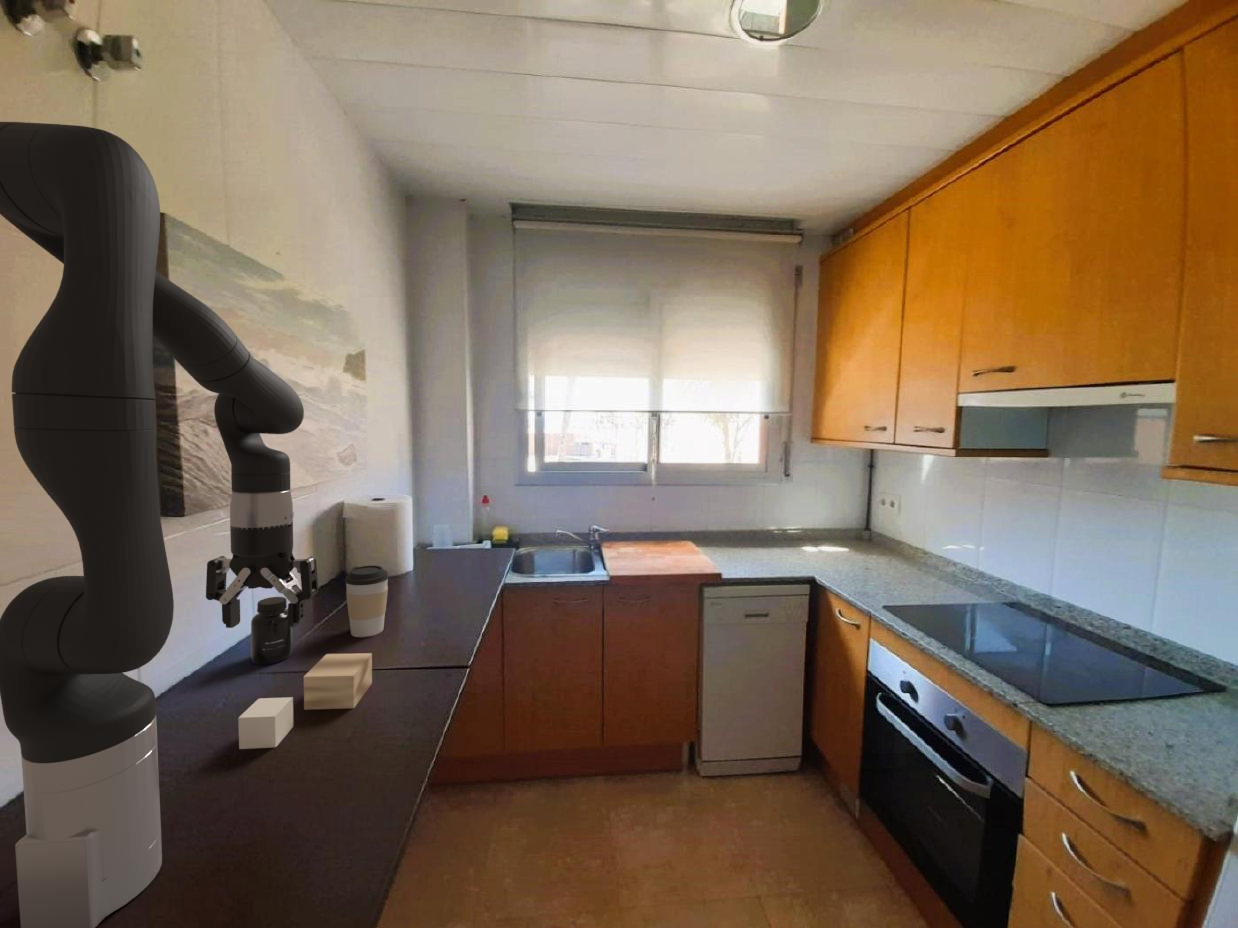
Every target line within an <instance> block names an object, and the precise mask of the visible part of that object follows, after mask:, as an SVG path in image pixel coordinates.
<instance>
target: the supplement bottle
mask: <svg viewBox="0 0 1238 928" xmlns="http://www.w3.org/2000/svg"><path fill="white" fill-rule="evenodd" d="M287 601H288V599H287V598H286V597H285V596H272V597H265V598H262V599H261V600H258V601H257V605H256V606H257V608H256V614H255V615H254V616H253V617H252V618H251V623H250V629H251V630H250V631H251V632H250V647H251V648H250V655H251V656H250V658H251V662H252V663H253V664H255V665H263V666H264V665H273V664H276V663H279V662H282V661H284V660H286V659H288V658H289V657H290V656H291V655H292V653H293V627H289V626H288V604H287Z"/></svg>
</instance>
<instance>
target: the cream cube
mask: <svg viewBox="0 0 1238 928" xmlns="http://www.w3.org/2000/svg"><path fill="white" fill-rule="evenodd" d="M237 721H238V746H239V747H238V749H239V750H244V749H245V750H249V749H266V748H267V749H269V748H277V746H278V745H280V743H281V742H282V741H283V739H285V737H286V736H287V734H288V733H289V732H290V731H291V730H292V729H293V728H294V697H293V696H290V697H289V696H288V697H267V698H266V697H265V698H263V697H262V698H261V697H260V698H257V700H255V701H254V702H253V704H251V705H250V706H249V707H248V708H247V709H246V710H244V712H242V714H241V715H240V716H239V717H238V719H237Z"/></svg>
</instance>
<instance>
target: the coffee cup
mask: <svg viewBox="0 0 1238 928" xmlns="http://www.w3.org/2000/svg"><path fill="white" fill-rule="evenodd" d="M388 573H389V571H387V570H386V569H384V567H383V566H380V565H373V564H371V565H363V566H354V567H352V568H351V569H350V572H349V573H348V574H346V577H345V580H344V583H345V585H346V586H345V587H346V591H345V594H346V603H347V611H348V612H347V613H348V617H349V625H350V634H351V636H352V637H353V638H354V637H355V638H367V637H372V636H376V635H378V634H381V633H382V632H383V630H384V629H385V628H384V626H385V613H386V610H387V601H388V590H389V586H388V581H389V578H390V575H389V574H388Z"/></svg>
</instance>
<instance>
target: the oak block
mask: <svg viewBox="0 0 1238 928" xmlns="http://www.w3.org/2000/svg"><path fill="white" fill-rule="evenodd" d="M372 684H373V652H372V653H371V652H368V653H363V652H362V653H361V652H360V653H359V652H358V653H326V654H325V655H324V656H323V657H322V658H321V659H320V660H319V661H318V662H317V663H315V665H314V666H312V668H311V669H310V670H309V671H308V672H306V674H305V675H304V676H303V709H304V711H305V710H331V709H332V710H333V709H334V710H336V709H339V710H342V709H355V707H356V706H357V704H359V702H360V701H361V699H362V698H363V696H364V694H365V693H366V692H367V691H368V689H369V688H370V686H371V685H372Z"/></svg>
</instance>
